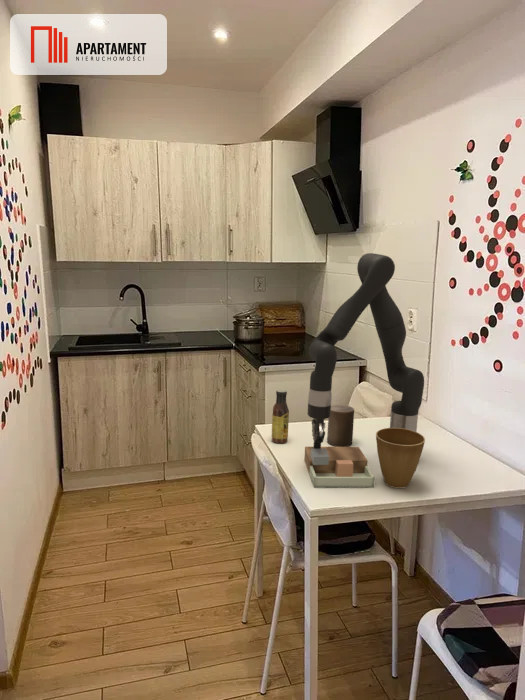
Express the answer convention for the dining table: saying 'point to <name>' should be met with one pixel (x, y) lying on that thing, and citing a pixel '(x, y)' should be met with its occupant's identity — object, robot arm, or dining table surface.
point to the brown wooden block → (338, 454)
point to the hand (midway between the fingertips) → (316, 451)
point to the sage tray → (342, 480)
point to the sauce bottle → (280, 418)
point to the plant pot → (399, 454)
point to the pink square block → (344, 468)
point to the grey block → (319, 456)
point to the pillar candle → (340, 426)
